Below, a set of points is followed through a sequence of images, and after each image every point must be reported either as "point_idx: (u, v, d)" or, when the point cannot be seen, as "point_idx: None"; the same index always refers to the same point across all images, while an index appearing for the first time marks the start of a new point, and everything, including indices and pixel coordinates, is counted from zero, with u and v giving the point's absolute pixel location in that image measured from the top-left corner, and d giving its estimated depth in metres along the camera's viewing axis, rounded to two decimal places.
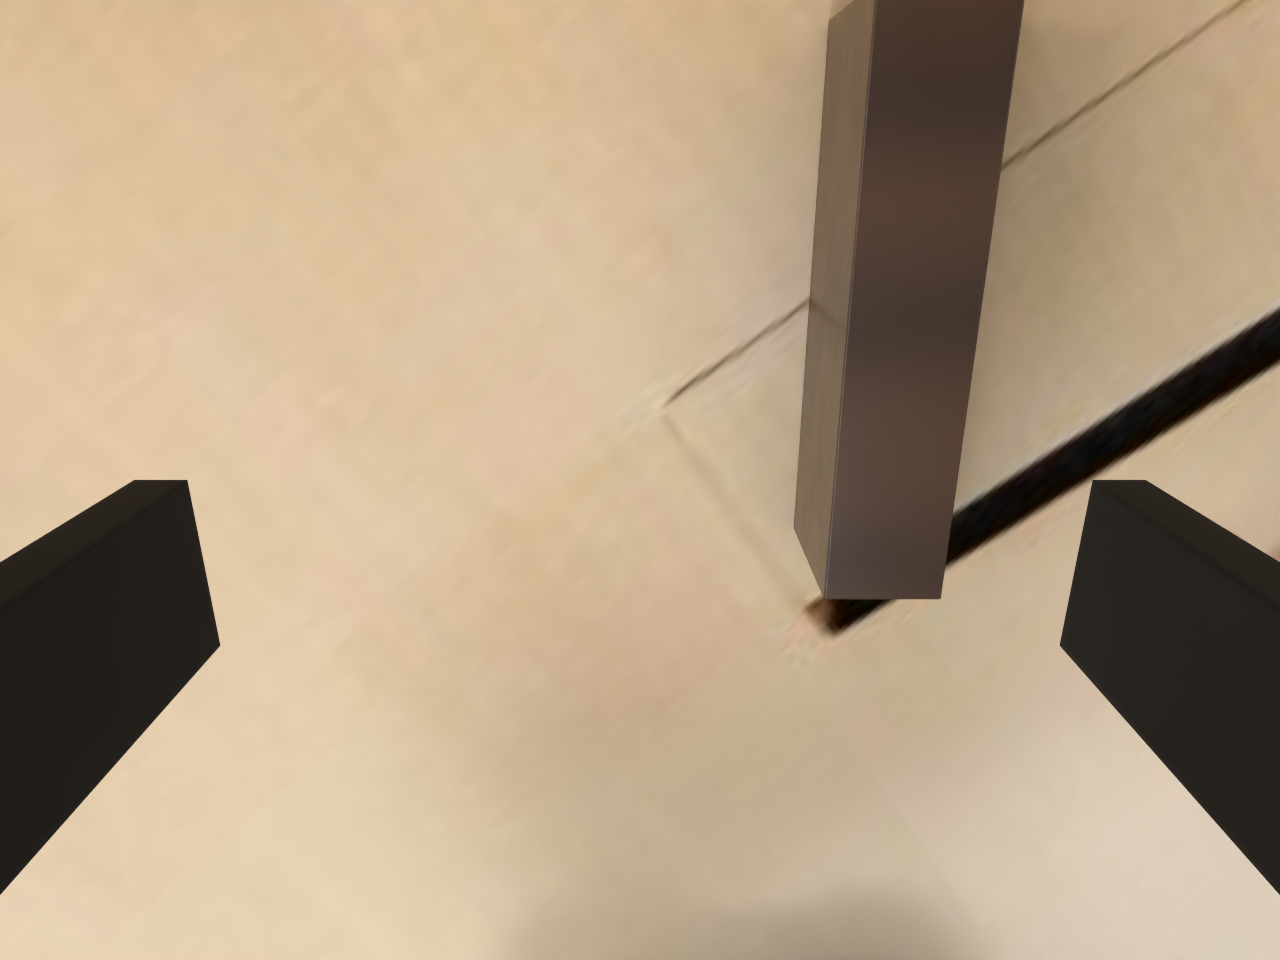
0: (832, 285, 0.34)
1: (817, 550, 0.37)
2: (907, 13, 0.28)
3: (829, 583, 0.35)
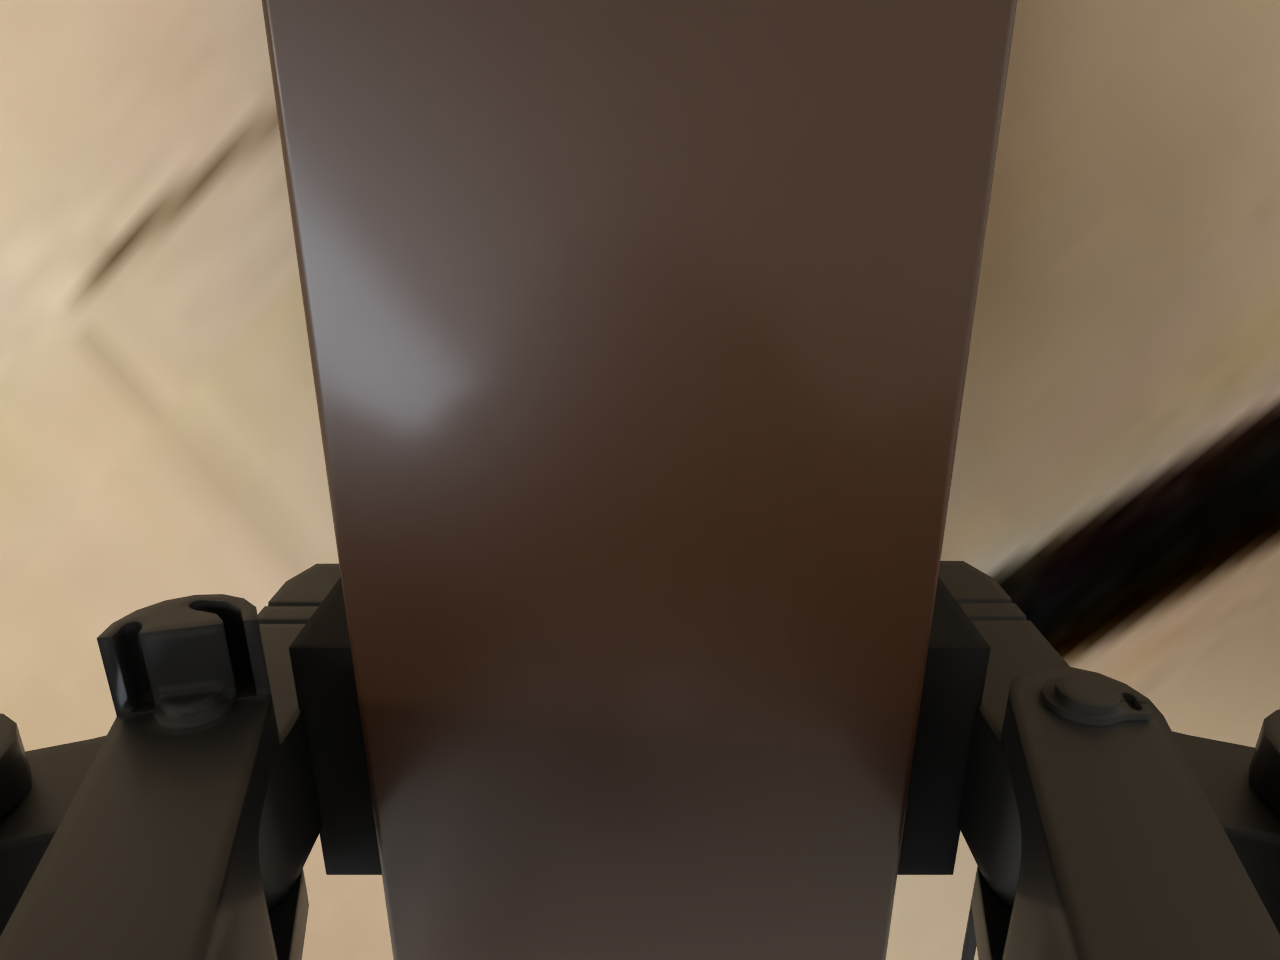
0: None
1: None
2: None
3: None
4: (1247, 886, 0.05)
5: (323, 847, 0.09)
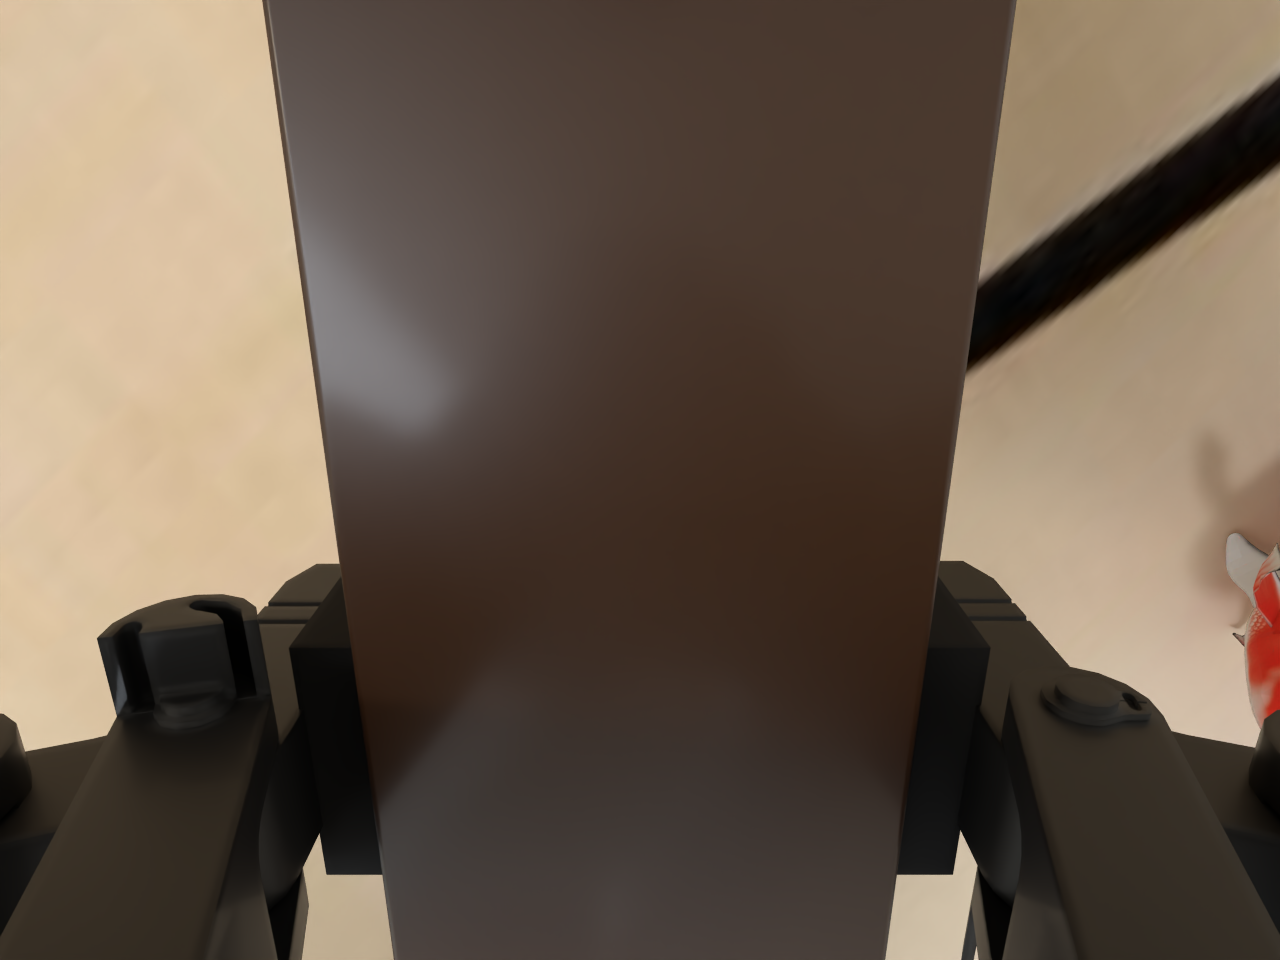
0: None
1: None
2: None
3: None
4: (1247, 886, 0.05)
5: (323, 847, 0.09)
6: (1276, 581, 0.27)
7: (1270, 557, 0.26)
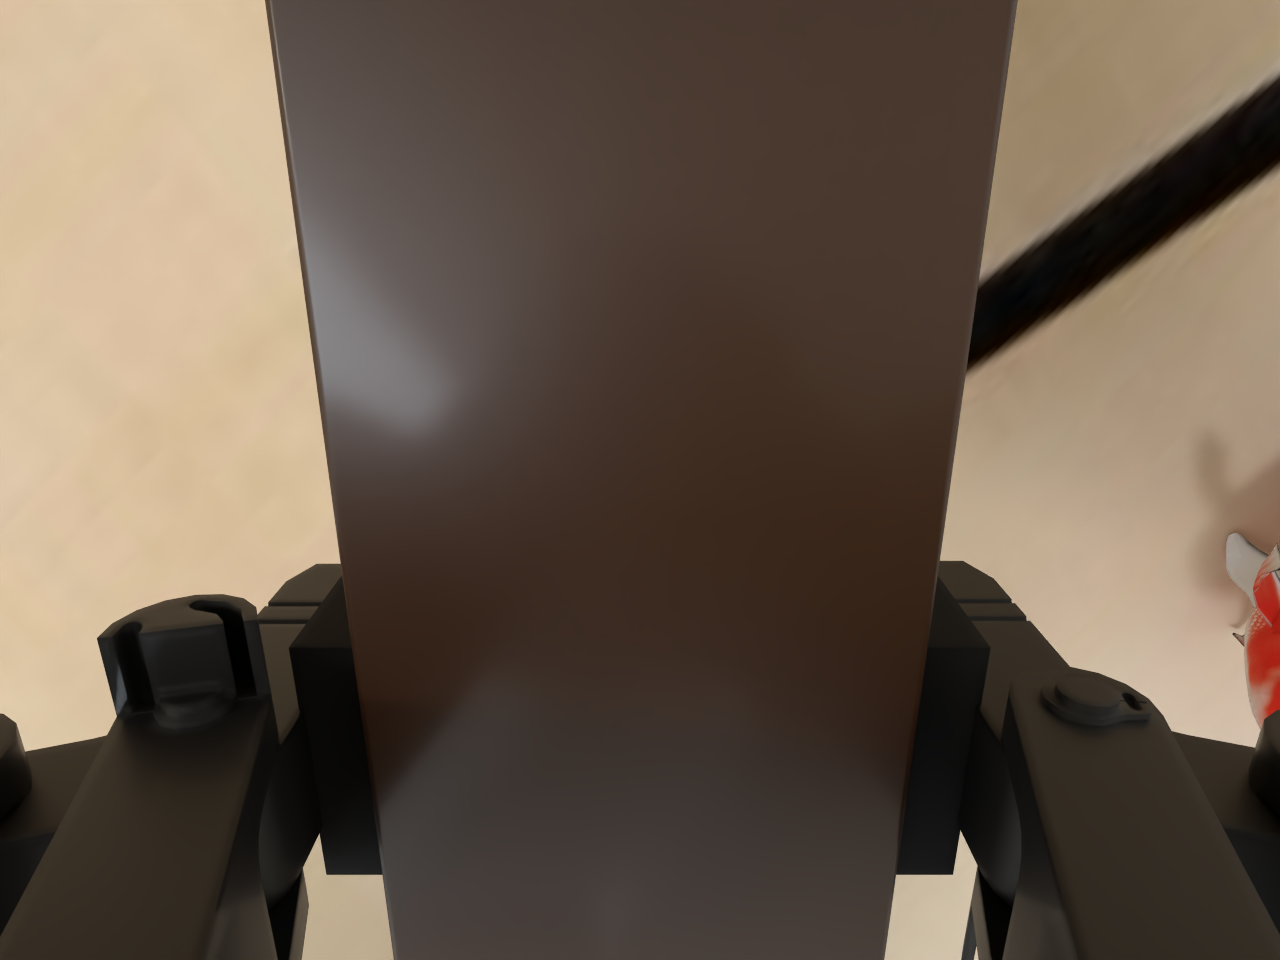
0: None
1: None
2: None
3: None
4: (1246, 886, 0.05)
5: (323, 847, 0.09)
6: (1276, 581, 0.27)
7: (1270, 557, 0.26)
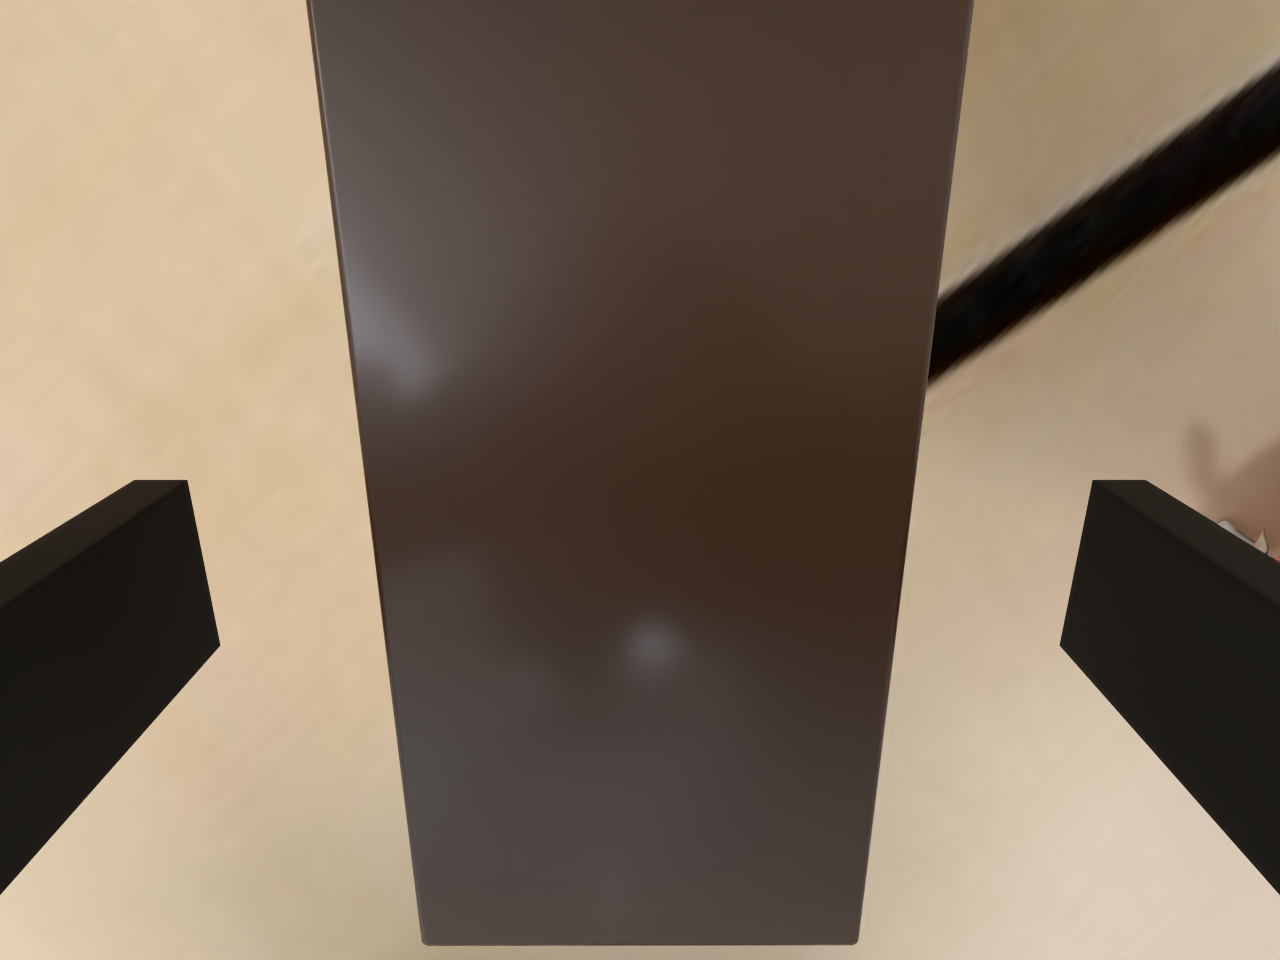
0: None
1: None
2: None
3: (430, 896, 0.09)
4: None
5: None
6: None
7: (1256, 543, 0.26)
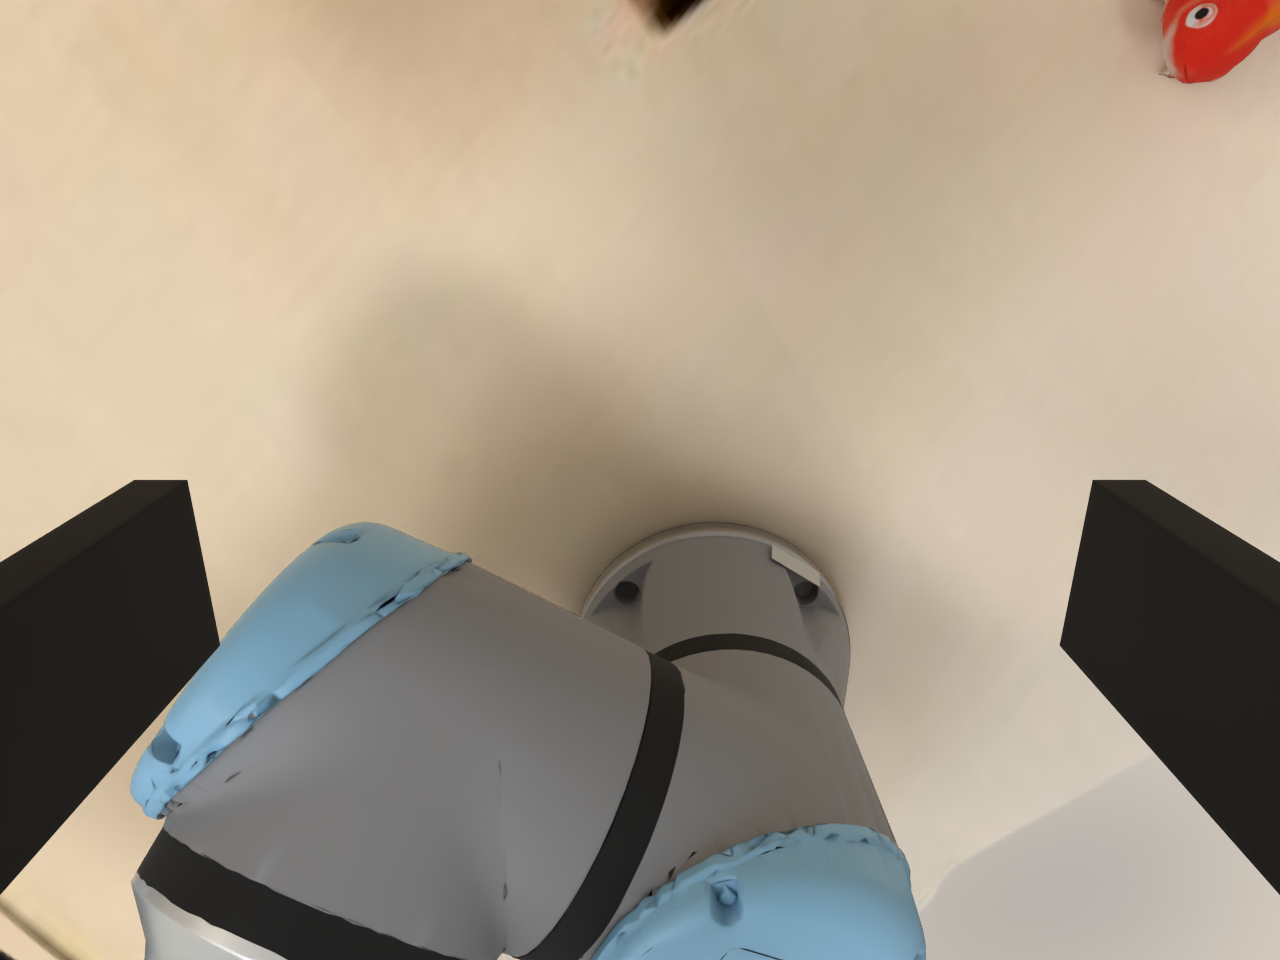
0: None
1: None
2: None
3: None
4: None
5: None
6: None
7: None
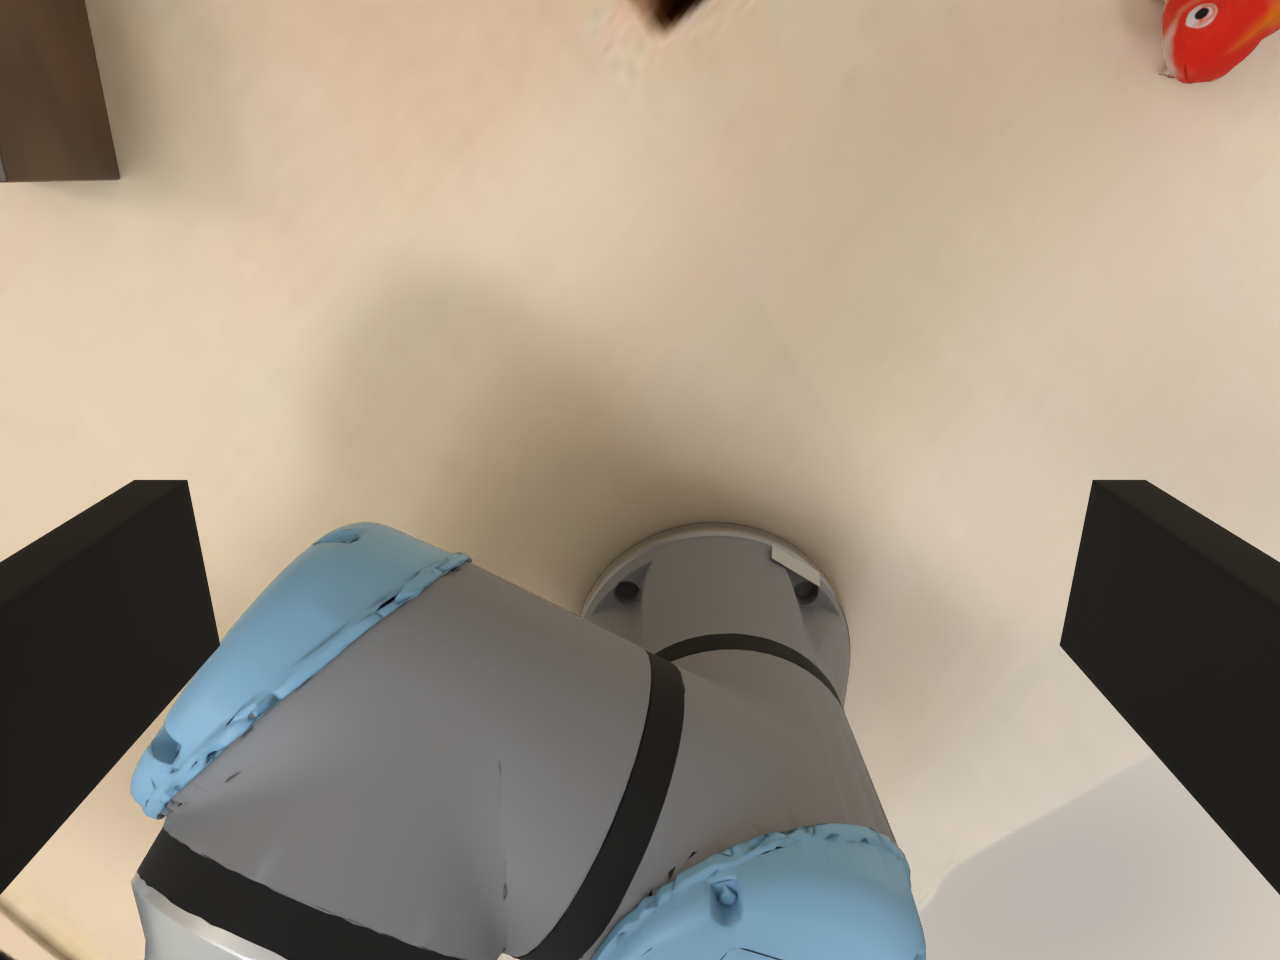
0: None
1: None
2: None
3: None
4: None
5: None
6: None
7: None
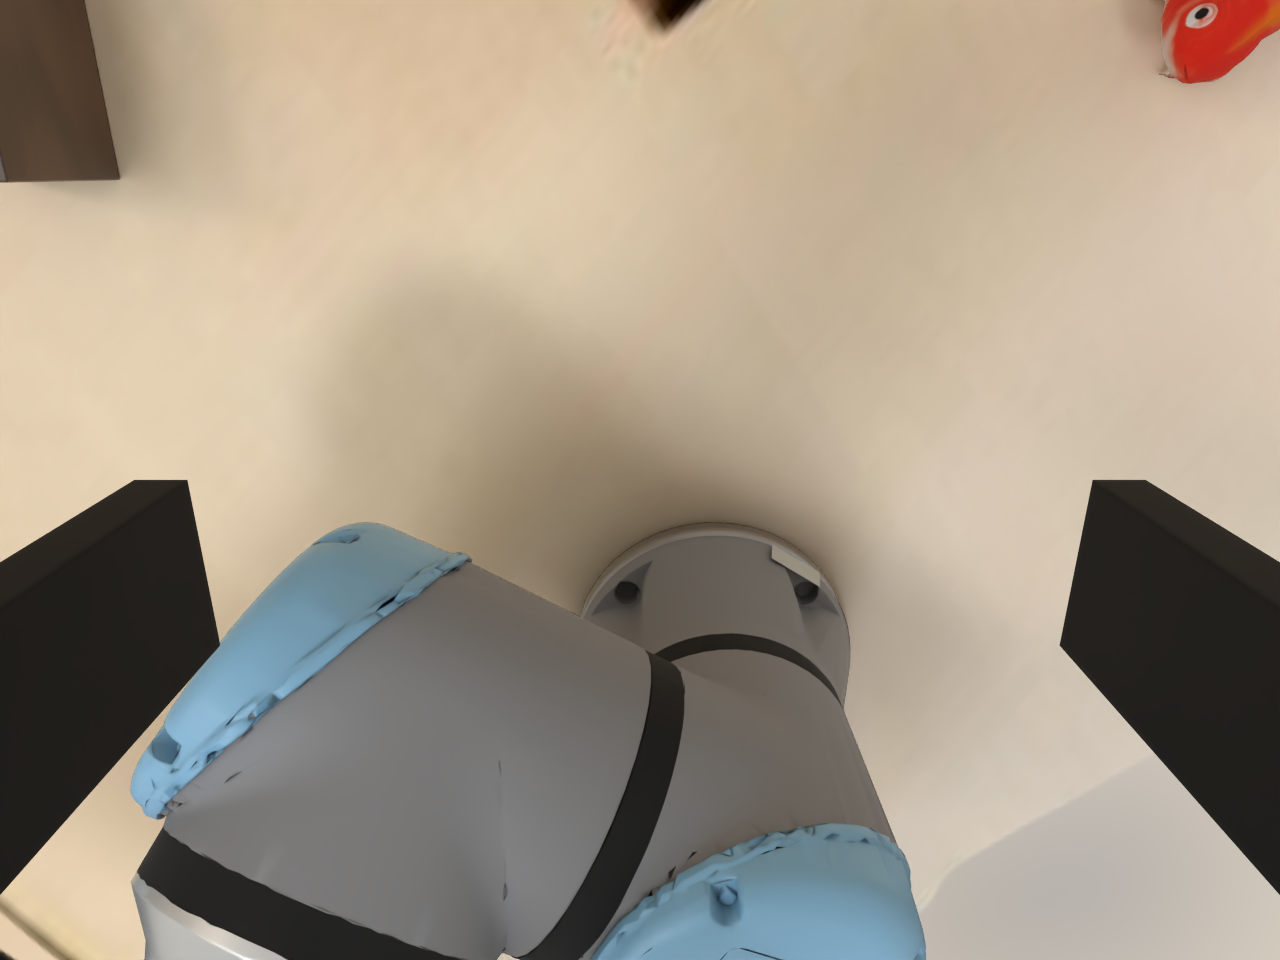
0: None
1: None
2: None
3: None
4: None
5: None
6: None
7: None
